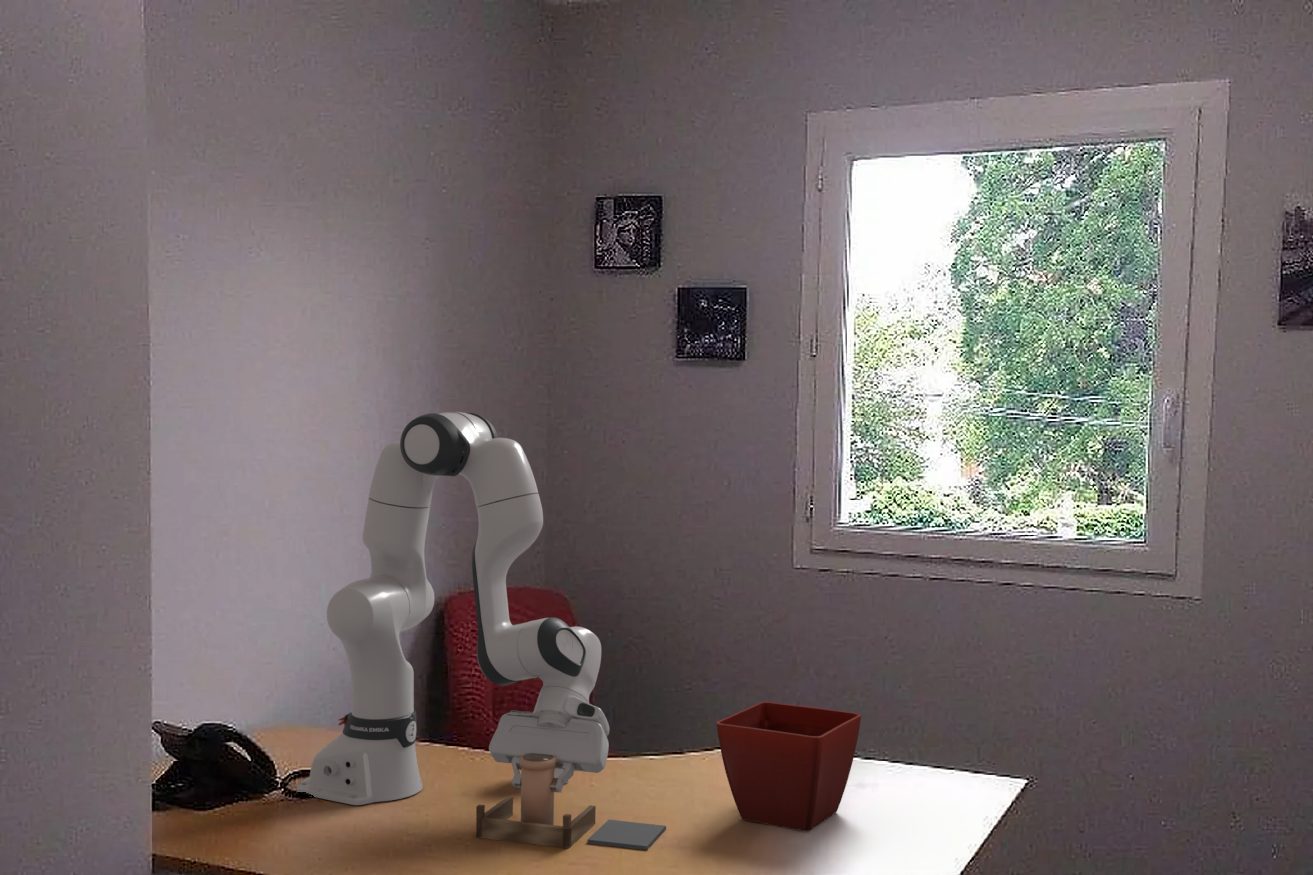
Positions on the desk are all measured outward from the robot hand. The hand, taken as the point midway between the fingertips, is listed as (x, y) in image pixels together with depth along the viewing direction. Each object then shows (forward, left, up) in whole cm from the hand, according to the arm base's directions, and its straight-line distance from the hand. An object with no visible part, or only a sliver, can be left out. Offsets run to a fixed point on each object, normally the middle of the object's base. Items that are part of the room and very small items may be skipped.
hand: (536, 788), depth 196 cm
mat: (+15, +2, -7) cm, 17 cm away
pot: (0, +1, -6) cm, 6 cm away
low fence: (0, 0, -7) cm, 7 cm away
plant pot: (+38, +20, -7) cm, 44 cm away
